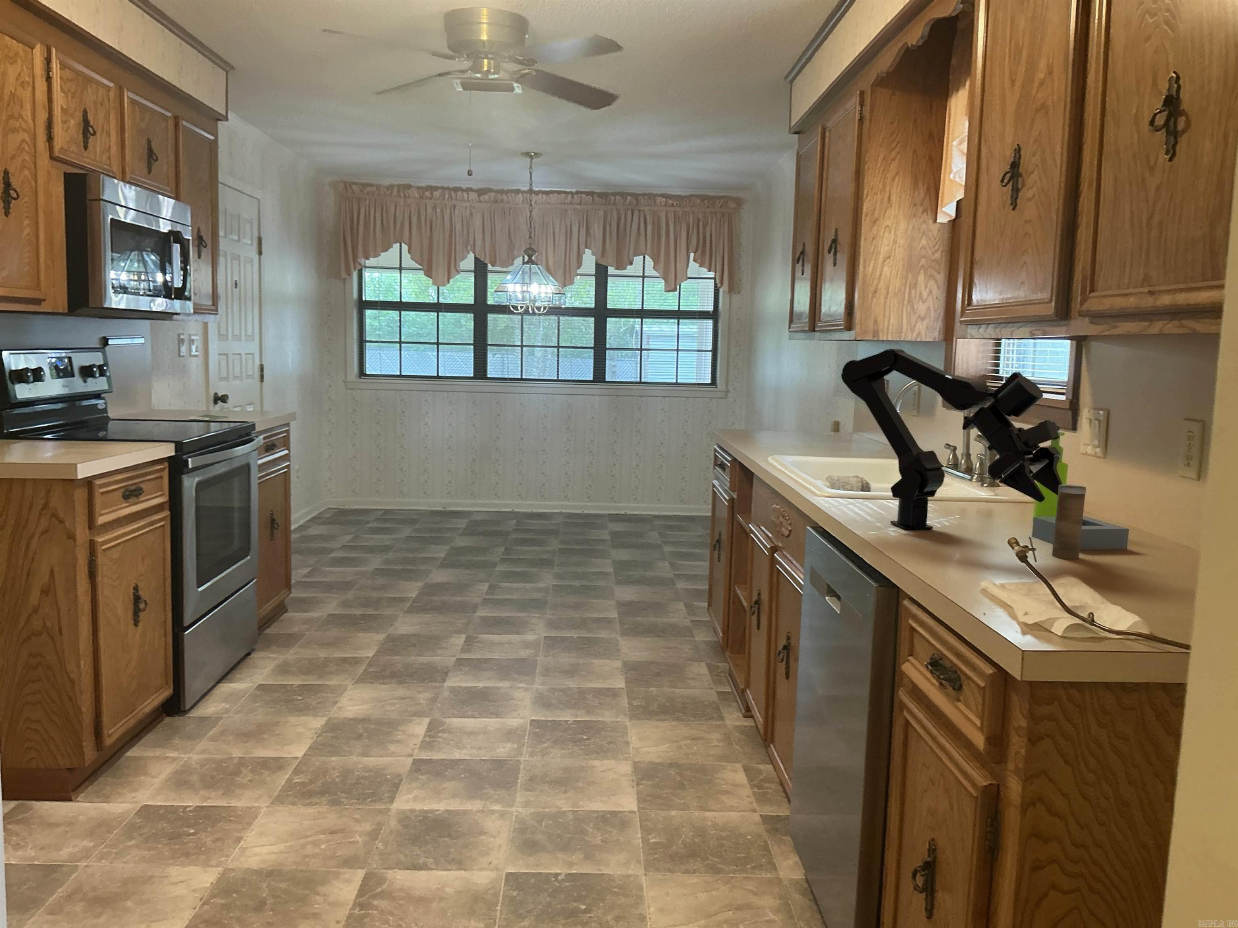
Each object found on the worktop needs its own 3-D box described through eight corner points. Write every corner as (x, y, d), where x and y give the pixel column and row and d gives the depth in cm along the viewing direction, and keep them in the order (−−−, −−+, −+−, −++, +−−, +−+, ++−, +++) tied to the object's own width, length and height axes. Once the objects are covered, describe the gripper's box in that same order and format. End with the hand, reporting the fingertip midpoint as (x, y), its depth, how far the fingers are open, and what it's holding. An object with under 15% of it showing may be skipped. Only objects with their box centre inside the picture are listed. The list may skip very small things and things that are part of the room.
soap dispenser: (1038, 518, 207) (1047, 429, 204) (1067, 523, 201) (1077, 432, 199) (1022, 520, 204) (1031, 429, 201) (1051, 526, 198) (1061, 433, 196)
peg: (1046, 553, 171) (1053, 484, 169) (1068, 553, 172) (1075, 484, 170) (1062, 559, 167) (1069, 488, 165) (1084, 559, 167) (1091, 488, 166)
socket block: (1031, 536, 187) (1033, 516, 186) (1084, 535, 189) (1086, 516, 188) (1071, 549, 175) (1073, 529, 174) (1126, 549, 177) (1129, 528, 177)
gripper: (1009, 406, 166) (1067, 475, 159) (1054, 404, 178) (1109, 467, 171) (964, 446, 172) (1018, 513, 166) (1010, 441, 185) (1062, 503, 178)
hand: (1053, 498), depth 170 cm, fingers open, 9 cm apart
